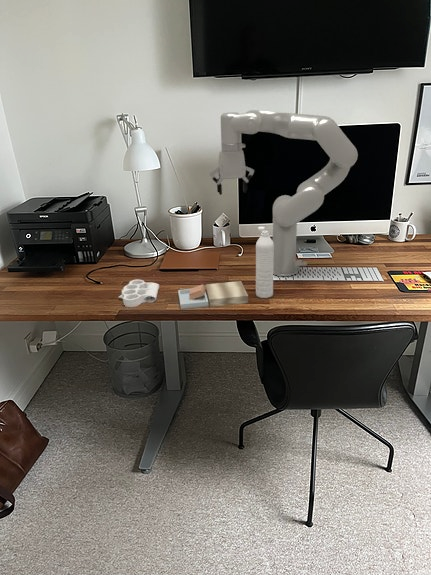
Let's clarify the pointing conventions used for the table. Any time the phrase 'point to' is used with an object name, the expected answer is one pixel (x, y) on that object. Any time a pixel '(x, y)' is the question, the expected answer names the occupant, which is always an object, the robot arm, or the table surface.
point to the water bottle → (264, 265)
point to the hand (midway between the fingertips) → (232, 193)
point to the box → (188, 303)
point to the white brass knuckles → (139, 293)
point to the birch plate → (226, 293)
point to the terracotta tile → (197, 292)
